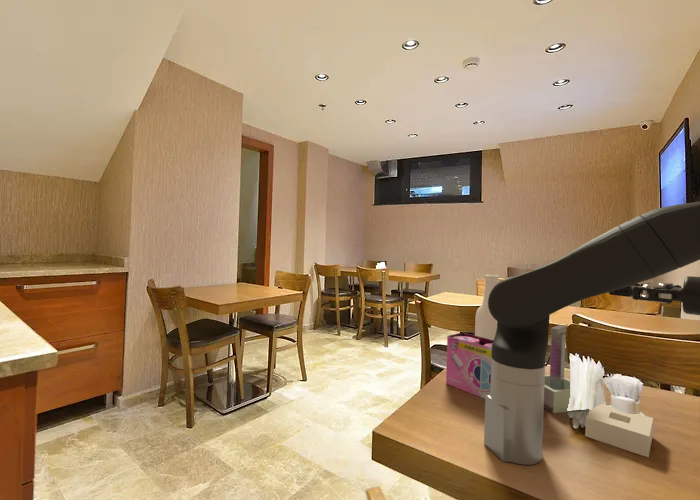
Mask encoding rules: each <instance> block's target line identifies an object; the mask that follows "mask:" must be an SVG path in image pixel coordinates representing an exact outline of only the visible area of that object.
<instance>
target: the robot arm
mask: <svg viewBox="0 0 700 500" xmlns="http://www.w3.org/2000/svg"><path fill="white" fill-rule="evenodd" d="M698 261H700V201H695V202H688V203H680V204H674V205H668V206H664V207H659V208H656V209H652V210H650V211H647V212H645V213H643V214H640V215H638V216H636V217H634V218H632V219H629V220H628V221H625V222H623V223H621V224H620V225H617V226H615V227H613V228H611V229H609V230H607V231H606V232H604V233H602V234H599V235H598V236H597V237H595V238H593V239H591V240H589V241H587V242H586V243H584V244H582V245H580V246H579V247H577V248H575V249H574V250H572V251H570V252H569V253H567V254H565V255H564V256H562V257H560V258H559V259H556V260H555V261H553V262H551V263H548V264H545V265H543V266H541V267H537V268H535V269H532V270H529V271H527V272H523V273H521V274H518V275H515V276H510V277H507V278H504V279H502V280H499V281H498V283H497V284H496V285H495V286H494V288H493V289H492V291H491V293H490V295H489V298H488V308H489V311H490V313H491V315H492V316H493V318H494V319H495V320H497V330H496V335H495V338H494V341H493V343H492V353H491V385H490V395H487V396H486V398H485V399H484V400H485V401H484V405H485V406H484V428H483V429H484V431H483V436H484V437H483V443H484V445H485V446H486V447H487V448H488V449H489V450H491V451H492V453H493V454H495V456H496V457H498V459H500V460H501V461H502V462H504V463H505V462H510V463H512V464H513V463H514V464H519V465H527V466H528V465H535V464H538V463H539V462H541V461H542V458H543V441H544V440H543V438H544V436H543V435H544V409H545V408H544V386H545V375H546V356H547V351H548V345H549V332H550V318H551V317H550V315H552V314H554V313H557V312H558V311H560V310H562V309H564V308H567V307H568V306H570V305H573V304H575V303H578V302H580V301H583V300H586V299H589V298H592V297H596V296H600V295H604V294H607V293H608V294H609V295H610V296H618V297H627V298H628V297H629V298H631V299H632V300H634V301H639V300H640V301H644V302H653V303H654V302H655V303H660V304H673V302H680V303H681V304H682V305H681V306H682V311H683V313H685V314H686V315H693V316H700V276H690V275H689V276H686V277H685V278H684V281H683V284H682V285H683V287H682V285H679V284H676V285H674V283H670V282H648V283H646V281H648V280H652V279H654V278H657V277H660V276H662V275H665V274H668V273H670V272H673V271H675V270H678V269H681V268H683V267H686V266H688V265H690V264H693V263H695V262H698Z"/></svg>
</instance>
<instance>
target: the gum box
mask: <svg viewBox="0 0 700 500" xmlns="http://www.w3.org/2000/svg"><path fill="white" fill-rule="evenodd" d="M446 338H447V341H446V343H447V344H446V349H447V350H446V373H445V374H446V377H445V384H447V385H450V386H452V387H454V388H456V389H459V390H461V391H464V392H467V393H469V394H471V395H474V396H477V397H479V398H482V399H484V400H485V398H486V396H487V395H490V385H491V353H492V343H493V341H494V340H491V339H487V338H483V337H479V336H475V334H470V333H466V332H459V333H455V334H451V335H447V337H446Z"/></svg>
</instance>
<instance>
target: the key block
mask: <svg viewBox="0 0 700 500" xmlns="http://www.w3.org/2000/svg"><path fill="white" fill-rule="evenodd" d="M615 408H616V407H615ZM615 408H614V406H611V405H608V404H604V403H601V405H599V406H596V407H595V408H594V409H592V410H591V409H590V410H588V413H587V414H586V416H585V431H584V432H585V434H584V435H585V437H587V438H589V439H593V440H595V441H598V442H601V443H605V444H608V445H610V446H613V447H616V448H620V449H622V450H625V451H628V452H630V453H633V454H635V455H636V454H637V455H640V456H642V457H646V458H648V459H649V457H650V453H651V447H652V441H653V437H654V436H653V431H654V417H651V416H648V415H643V414H640V413H637V414H627V413H623V412H620V411H618V410H616V409H615Z"/></svg>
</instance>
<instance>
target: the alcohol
mask: <svg viewBox="0 0 700 500" xmlns="http://www.w3.org/2000/svg"><path fill="white" fill-rule="evenodd" d="M484 277H485V279H484V281H485V283H484V291H483V300H482V304H481V305H480V306H479V307H478V308H477V310H476V311H475V313H476V314H475V322H474V323H475V325H474V335H475V336H479V337H483V338H487V339H491V340H494V338H495V335H496V330H497V320H495V319H494V318H493V316H492V315H491V313H490V311H489V308H488V298H489V295H490V293H491V291H492V289H493V288H494V286H495V285H496V284H497V283H499V282H500V276H499V274H485V275H484Z"/></svg>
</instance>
